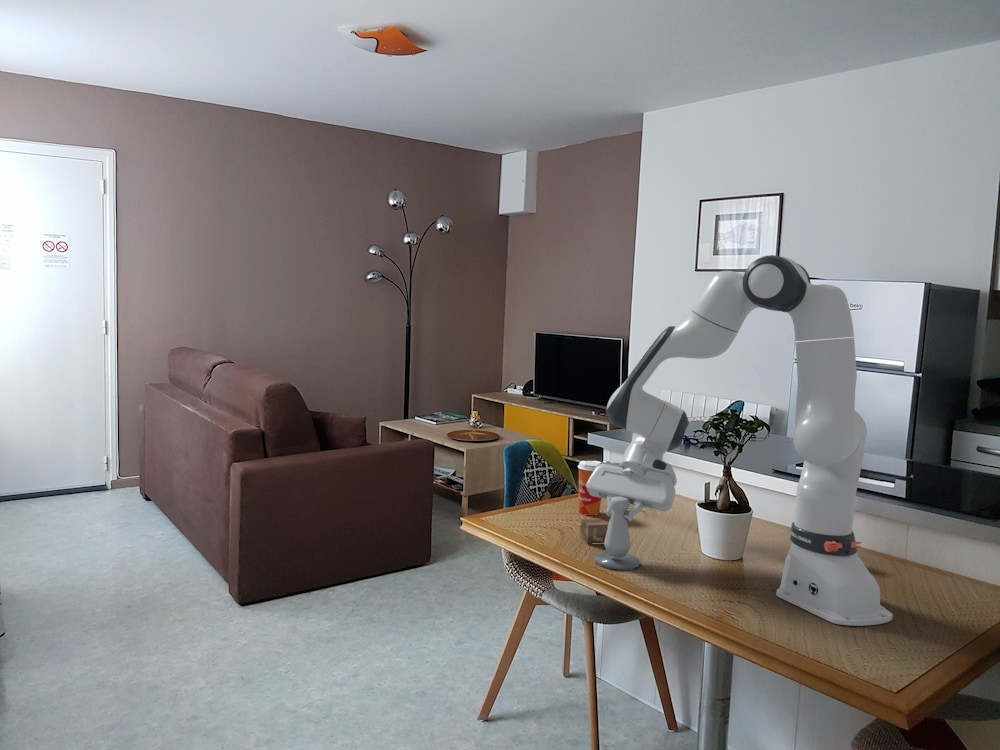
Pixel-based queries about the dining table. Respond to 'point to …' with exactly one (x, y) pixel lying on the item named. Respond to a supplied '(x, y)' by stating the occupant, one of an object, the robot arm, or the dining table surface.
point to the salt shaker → (618, 528)
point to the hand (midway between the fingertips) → (618, 517)
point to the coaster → (617, 561)
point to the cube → (593, 530)
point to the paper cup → (586, 501)
